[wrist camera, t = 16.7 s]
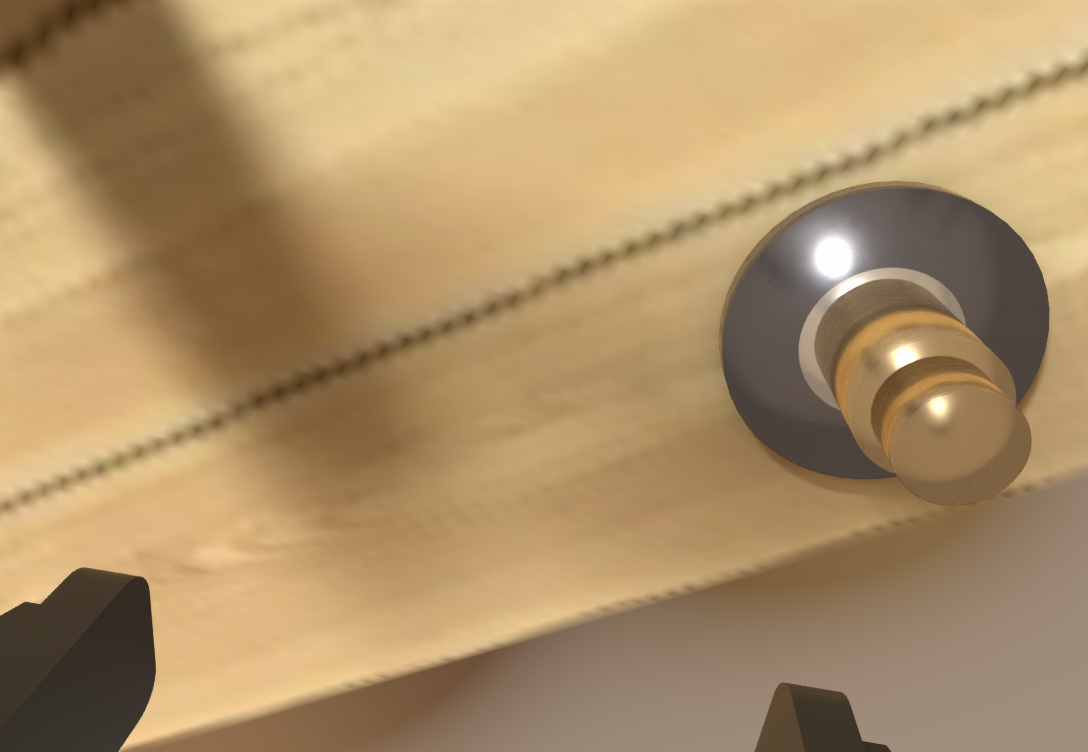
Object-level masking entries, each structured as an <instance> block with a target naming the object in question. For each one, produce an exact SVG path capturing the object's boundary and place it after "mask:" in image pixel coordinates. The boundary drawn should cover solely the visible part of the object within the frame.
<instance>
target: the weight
mask: <svg viewBox="0 0 1088 752" xmlns="http://www.w3.org/2000/svg"><path fill="white" fill-rule="evenodd" d="M814 350H815V357H816V361H817V364H818V366H819V369H820V371H821V373H822V375H823V377H824V379H825V381H826V383H827V384H828V386H829V388H830V390H831V392H832V394H833V396H834V398H835V400H836V402H837V404H838V406H839V408H840V410H841V412H842V414H843V416H844V418H845V420H846V422H847V424H848V426H849V428H850V430H851V432H852V434H853V436H854V438H855V440H856V442H857V443H858V445H859V447H860V448H861V450H862V451H863V452H864V454H865V455H866V456H867V457H868V458H869V459H870V460H871V461H873V462H874V463H875V464H877V465H878V466H880V467H881V468H883V469H885V470H887V471H889V472H892V473H895V474H897V476H898V477H899V479H900V481H901V482H902V484H903V485H904V486H905V487H906V488H907V489H908V490H909V491H910V492H911V493H913V494H914V495H916V496H917V497H919V498H921V499H923V500H925V501H928V502H931V503H935V504H940V505H965V504H970V503H975V502H978V501H981V500H984V499H986V498H989V497H991V496H993V495H995V494H996V493H998V492H1000V491H1001V490H1003V489H1004V488H1005V487H1007V486H1008V485H1009V484H1010V483H1011V482H1012V481H1013V480H1014V479H1015V478H1016V477H1017V476H1018V475H1019V473H1020V472H1021V471H1022V469H1023V468H1024V466H1025V464H1026V462H1027V460H1028V457H1029V454H1030V449H1031V431H1030V428H1029V425H1028V422H1027V420H1026V418H1025V416H1024V415H1023V414H1022V413H1021V411H1020V410H1019V409H1018V408H1017V407H1016V391H1015V385H1014V382H1013V379H1012V376H1011V374H1010V372H1009V370H1008V368H1007V367H1006V366H1005V364H1004V363H1003V362H1002V361H1001V360H1000V359H999V358H998V357H997V356H996V355H995V354H994V353H993V352H992V351H991V350H990V349H989V348H988V347H987V346H986V345H985V344H984V343H983V342H982V341H981V340H980V339H979V338H978V337H977V336H976V335H975V334H974V333H973V332H972V331H970V330H969V329H968V328H967V327H966V326H965V325H964V324H963V323H962V322H961V321H960V320H959V319H958V318H957V317H956V316H955V315H954V314H953V313H952V312H951V311H950V310H949V309H948V308H947V307H946V306H945V305H944V304H943V303H942V302H941V301H940V300H939V299H938V298H936V297H935V296H934V295H933V294H932V293H931V292H930V291H929V290H927V289H926V288H924V287H922V286H920V285H918V284H916V283H913V282H910V281H906V280H902V279H879V280H873V281H869V282H866V283H863V284H861V285H858V286H856V287H854V288H852V289H850V290H848V291H847V292H845V293H844V294H843V295H841V296H840V297H839V298H838V299H837V300H835V301H834V302H833V303H832V305H831V306H830V307H829V308H828V309H827V311H826V312H825V314H824V315H823V317H822V319H821V321H820V323H819V325H818V328H817V331H816V335H815V342H814Z"/></svg>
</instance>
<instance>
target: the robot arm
mask: <svg viewBox="0 0 1088 752" xmlns="http://www.w3.org/2000/svg"><path fill="white" fill-rule="evenodd" d="M155 674H156V662H155V650H154V638H153V626H152V614H151V602H150V591H149V586H148V583H147V581H146V580H145V579H144V578H143V577H139V576H133V575H127V574H121V573H115V572H109V571H103V570H97V569H91V568H86V567H85V568H79V569H77V570H75V571H74V572H72V573H71V574H70V575H69V576H68V577H67V578H66V579H65V580H64V581H63V582H62V583H61V584H60V585H59V586H58V587H57V588H56V589H55V590H54V591H53V592H52V593H51V594H50V595H49V596H48V597H47V598H46V599H45V600H44V601H43V602H42V603H41V604H35V603H30V602H24V603H22V604H20V605H19V606H17V607H15V608H13V609H12V610H10V611H8V612H6V613H4V614H3V615H1V616H0V752H118V751H119V750H120V748H121V747H122V745H123V744H124V742H125V741H126V739H127V738H128V736H129V735H130V733H131V732H132V730H133V729H134V728H135V726H136V725H137V723H138V722H139V720H140V718H141V717H142V715H143V713H144V711H145V709H146V707H147V704H148V702H149V699H150V697H151V693H152V690H153V686H154V681H155ZM755 752H891V751H890V750H889V748H888V747H887V746H886V745H881V744H876V743H870V742H863V741H862V739H861V736H860V733H859V730H858V727H857V724H856V721H855V718H854V715H853V712H852V709H851V706H850V703H849V701H848V699H847V697H846V696H845V695H844V694H843V693H841V692H836V691H830V690H824V689H818V688H812V687H807V686H801V685H795V684H789V683H781V684H779V685H778V687H777V689H776V691H775V693H774V696H773V699H772V702H771V705H770V708H769V711H768V714H767V716H766V720H765V722H764V726H763V728H762V731H761V735H760V738H759V740H758V743H757V746H756V749H755Z"/></svg>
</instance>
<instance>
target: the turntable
mask: <svg viewBox="0 0 1088 752" xmlns="http://www.w3.org/2000/svg"><path fill="white" fill-rule="evenodd" d="M879 279H902V280H906V281H910V282H913V283H916V284H918V285H920V286H922V287H924V288H926V289H927V290H929V291H930V292H931V293H932V294H933V295H934V296H935V297H936V298H938V299H939V300H940V301H941V302H942V303H943V304H944V305H945V306H946V307H947V308H948V309H949V310H950V311H951V312H952V313H953V314H954V315H955V316H956V317H957V318H958V319H959V320H960V321H961V322H962V323H963V324H964V325H965V326H966V327H967V328H968V329H969V330H970V331H972V332H973V333H974V334H975V335H976V336H977V337H978V338H979V339H980V340H981V341H982V342H983V343H984V344H985V345H986V346H987V347H988V348H989V349H990V350H991V351H992V352H993V353H994V354H995V355H996V356H997V357H998V358H999V359H1000V360H1001V361H1002V362H1003V363H1004V364H1005V366H1006V367H1007V368H1008V370H1009V372H1010V374H1011V376H1012V379H1013V382H1014V385H1015V391H1016V406H1017V405H1018V404H1019V402H1020V401H1021V399H1022V398H1023V396H1024V395H1025V393H1026V392H1027V390H1028V389H1029V387H1030V385H1031V383H1032V381H1033V379H1034V377H1035V375H1036V373H1037V371H1038V369H1039V366H1040V363H1041V360H1042V357H1043V354H1044V351H1045V348H1046V342H1047V337H1048V331H1049V303H1048V295H1047V289H1046V286H1045V282H1044V279H1043V275H1042V272H1041V270H1040V268H1039V266H1038V264H1037V262H1036V260H1035V258H1034V255H1033V254H1032V252H1031V251H1030V249H1029V248H1028V247H1027V245H1026V244H1025V242H1024V241H1023V240H1022V238H1021V237H1020V236H1019V235H1018V234H1017V233H1016V232H1015V231H1014V230H1013V229H1012V228H1011V227H1010V226H1009V225H1008V224H1007V223H1006V222H1004V221H1003V220H1002V219H1000V218H999V217H998V216H996V215H995V214H994V213H992V212H991V211H989V210H987V209H986V208H984V207H982V206H981V205H979V204H977V203H975V202H973V201H971V200H969V199H968V198H966V197H964V196H962V195H960V194H958V193H955V192H952V191H949V190H946V189H944V188H941V187H937V186H932V185H927V184H922V183H915V182H901V181H892V182H875V183H869V184H864V185H858V186H853V187H850V188H846V189H843V190H840V191H837V192H833V193H831V194H828V195H826V196H824V197H822V198H819V199H817V200H815V201H813V202H810V203H809V204H807V205H805V206H804V207H802V208H800V209H799V210H797V211H795V212H794V213H792V214H791V215H789V216H788V217H787V218H785V219H784V220H783V221H782V222H780V223H779V224H778V225H776V226H775V227H774V228H773V229H772V230H771V231H770V232H769V233H768V234H767V235H766V236H765V237H764V238H763V239H762V240H761V241H760V242H759V243H758V244H757V245H756V247H755V248H754V249H753V250H752V252H751V253H750V254H749V255H748V257H747V258H746V259H745V261H744V263H743V264H742V266H741V268H740V269H739V271H738V272H737V274H736V276H735V278H734V280H733V283H732V285H731V287H730V289H729V292H728V294H727V298H726V301H725V304H724V308H723V311H722V318H721V324H720V354H721V361H722V367H723V371H724V375H725V379H726V382H727V386H728V389H729V393H730V395H731V398H732V400H733V402H734V404H735V406H736V408H737V411H738V412H739V414H740V415H741V417H742V418H743V420H744V421H745V423H746V424H747V426H748V427H749V428H750V429H751V430H752V431H753V432H754V434H755V435H756V436H757V437H758V438H759V439H760V440H761V441H762V442H764V443H765V444H766V445H767V446H768V447H769V448H771V449H772V450H773V451H775V452H776V453H778V454H779V455H781V456H782V457H784V458H785V459H787V460H789V461H791V462H793V463H795V464H797V465H799V466H802V467H804V468H807V469H810V470H813V471H816V472H819V473H822V474H827V475H831V476H836V477H843V478H853V479H880V478H889V477H897V474H895V473H892V472H889V471H887V470H885V469H883V468H881V467H880V466H878V465H877V464H875V463H874V462H873V461H871V460H870V459H869V458H868V457H867V456H866V455H865V454H864V452H863V451H862V450H861V448H860V447H859V445H858V443H857V442H856V440H855V438H854V436H853V434H852V432H851V430H850V428H849V426H848V424H847V422H846V420H845V418H844V416H843V414H842V412H841V410H840V408H839V406H838V404H837V402H836V400H835V398H834V396H833V394H832V392H831V390H830V388H829V386H828V384H827V383H826V381H825V379H824V377H823V375H822V373H821V371H820V369H819V366H818V364H817V361H816V357H815V350H814V342H815V335H816V331H817V328H818V325H819V323H820V321H821V319H822V317H823V315H824V314H825V312H826V311H827V309H828V308H829V307H830V306H831V305H832V303H833V302H834V301H835V300H837V299H838V298H839V297H840V296H841V295H843V294H844V293H845V292H847V291H848V290H850V289H852V288H854V287H856V286H858V285H861V284H863V283H866V282H869V281H873V280H879Z"/></svg>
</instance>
